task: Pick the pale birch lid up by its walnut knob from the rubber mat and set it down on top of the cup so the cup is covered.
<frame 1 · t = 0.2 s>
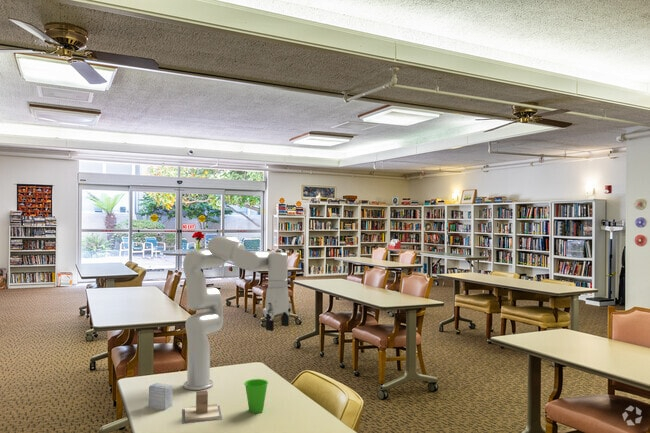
hand: (277, 328, 187), 31 cm above the table, tool pointing down, fingers open, 9 cm apart
lid: (201, 414, 179), resting on mat
mat: (201, 415, 179), on the table
cup: (256, 412, 183), on the table
medicine box: (160, 408, 186), on the table
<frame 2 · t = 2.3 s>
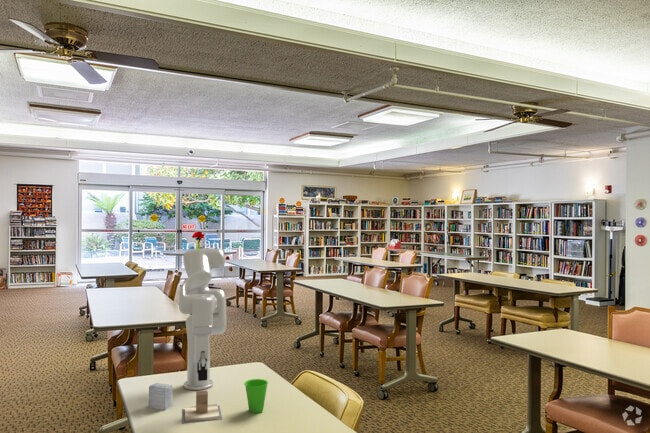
hand: (202, 376, 179), 15 cm above the table, tool pointing down, fingers open, 9 cm apart
nothing on the table moved.
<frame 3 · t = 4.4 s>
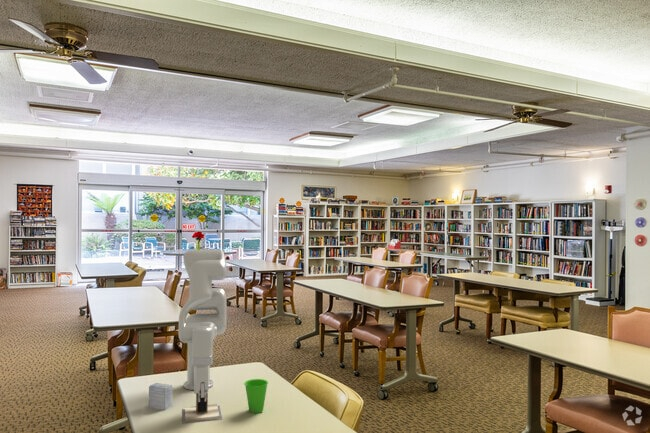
hand: (201, 409, 179), 2 cm above the table, tool pointing down, fingers closed on lid, 4 cm apart
lid: (201, 414, 179), resting on mat, touching gripper
everything else where it was.
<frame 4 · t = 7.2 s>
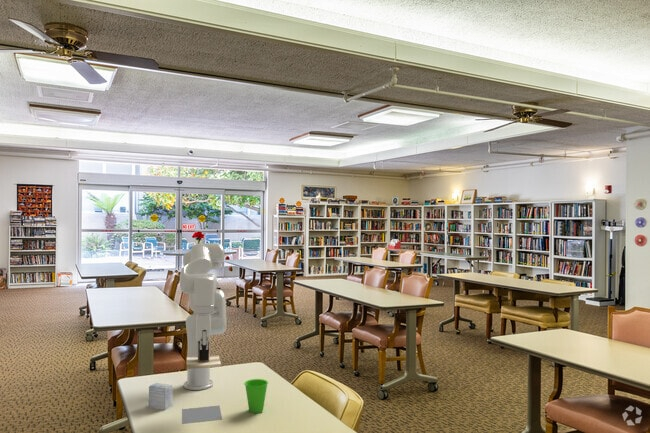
hand: (203, 358, 180), 21 cm above the table, tool pointing down, fingers closed on lid, 4 cm apart
lid: (203, 363, 180), point 19 cm above the table, touching gripper
everything else where it was.
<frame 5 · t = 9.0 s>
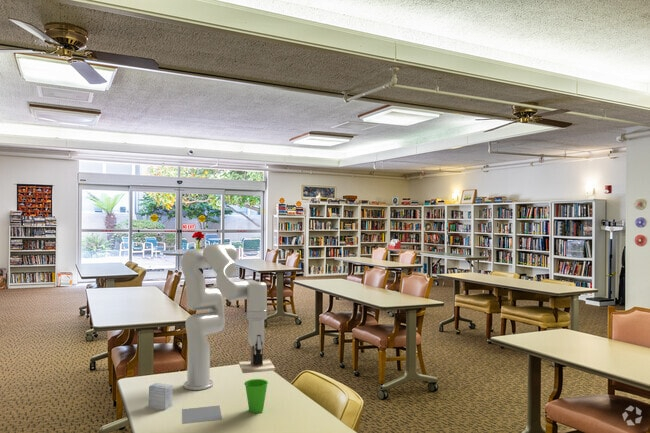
hand: (256, 362, 183), 19 cm above the table, tool pointing down, fingers closed on lid, 4 cm apart
lid: (256, 367, 183), point 17 cm above the table, touching gripper
everything else where it was.
when the fingers open (15 cm above the table, at t = 10.3 s): lid drops 2 cm, resting on cup.
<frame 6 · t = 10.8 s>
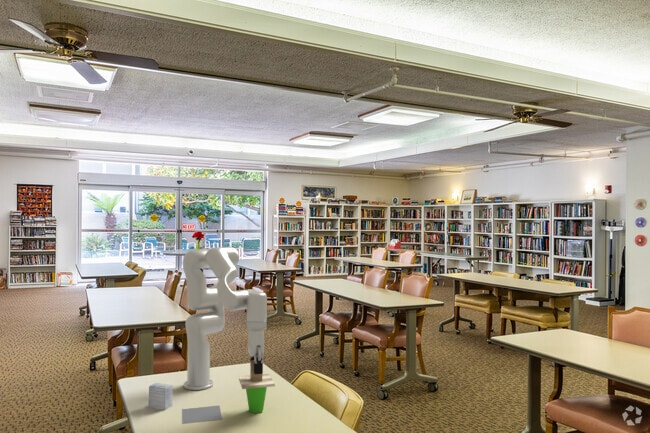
hand: (256, 370, 183), 16 cm above the table, tool pointing down, fingers open, 9 cm apart
lid: (256, 382, 183), point 11 cm above the table, touching cup
cup: (256, 412, 183), on the table, touching lid
everything else where it was.
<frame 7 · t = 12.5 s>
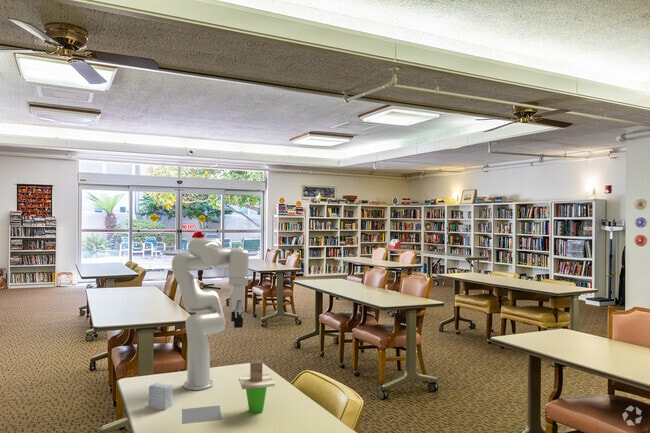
hand: (236, 324, 189), 32 cm above the table, tool pointing down, fingers open, 9 cm apart
nothing on the table moved.
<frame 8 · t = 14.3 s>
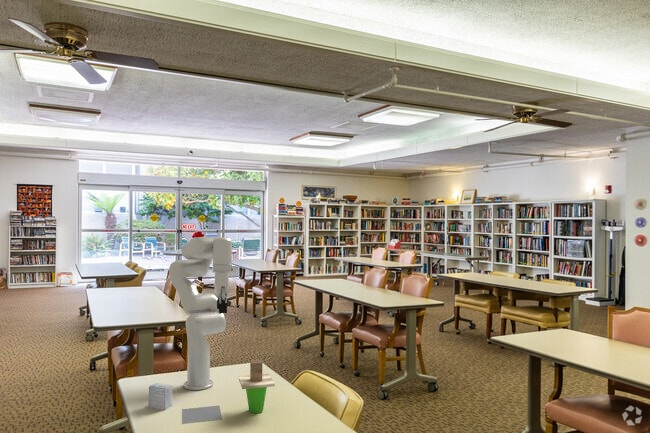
hand: (221, 311, 194), 36 cm above the table, tool pointing down, fingers open, 9 cm apart
nothing on the table moved.
at the end: lid 0.0 cm from the cup (horizontally); lid point 11.0 cm above the table; cup tilted 0° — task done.
